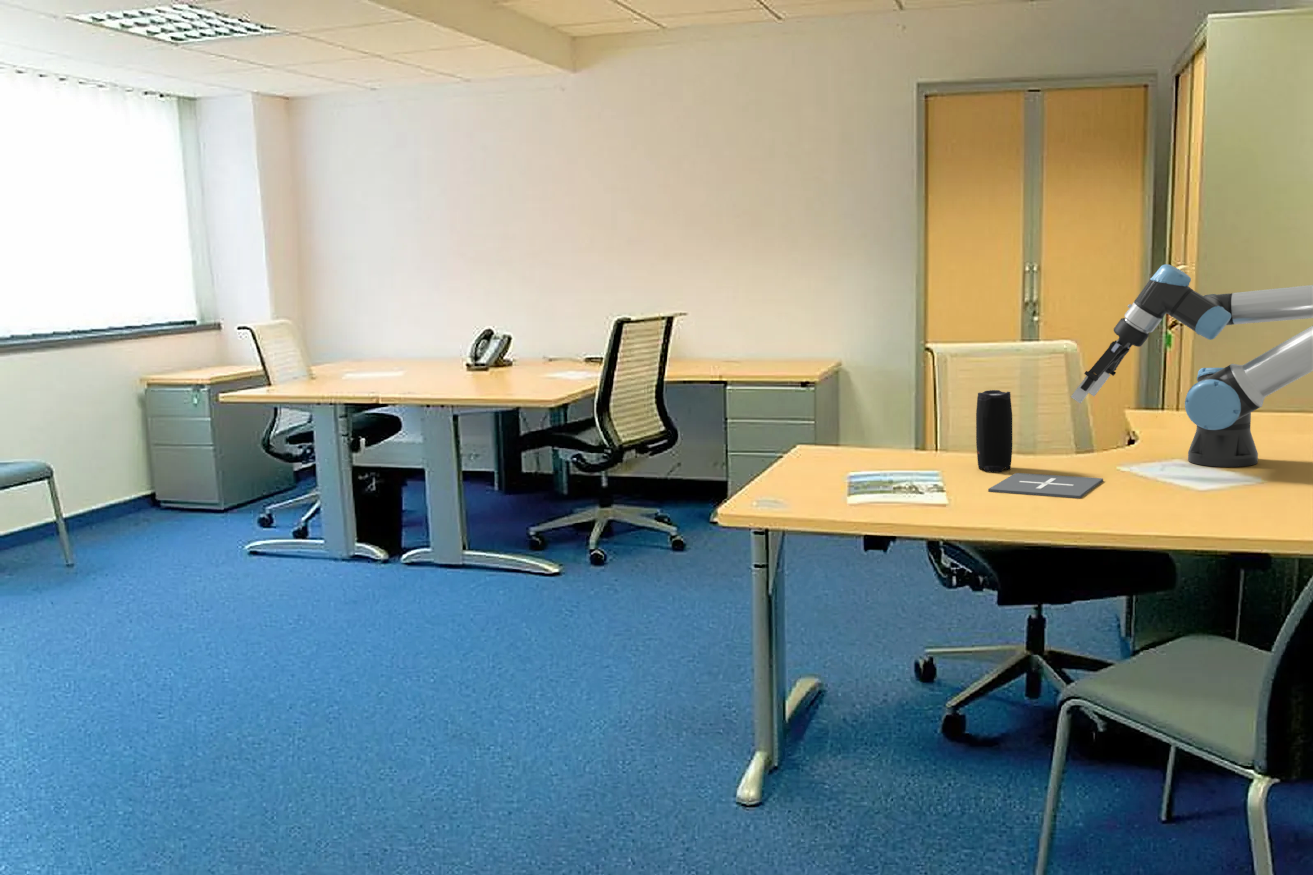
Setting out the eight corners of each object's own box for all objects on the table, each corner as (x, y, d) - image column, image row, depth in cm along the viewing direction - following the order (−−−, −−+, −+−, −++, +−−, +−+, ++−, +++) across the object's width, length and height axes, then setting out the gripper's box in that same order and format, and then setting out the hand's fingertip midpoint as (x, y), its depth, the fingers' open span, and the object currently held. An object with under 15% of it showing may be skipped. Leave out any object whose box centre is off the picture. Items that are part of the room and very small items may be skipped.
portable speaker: (978, 473, 267) (977, 394, 264) (975, 466, 277) (974, 390, 274) (1014, 472, 266) (1014, 393, 263) (1010, 465, 275) (1009, 388, 272)
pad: (1103, 480, 251) (1103, 478, 251) (1079, 498, 235) (1079, 495, 235) (1016, 475, 263) (1016, 472, 263) (988, 491, 247) (988, 488, 247)
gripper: (1134, 313, 270) (1082, 381, 280) (1110, 320, 250) (1056, 393, 260) (1160, 330, 268) (1107, 398, 277) (1139, 338, 248) (1083, 412, 257)
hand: (1082, 396), depth 269 cm, fingers open, 13 cm apart
